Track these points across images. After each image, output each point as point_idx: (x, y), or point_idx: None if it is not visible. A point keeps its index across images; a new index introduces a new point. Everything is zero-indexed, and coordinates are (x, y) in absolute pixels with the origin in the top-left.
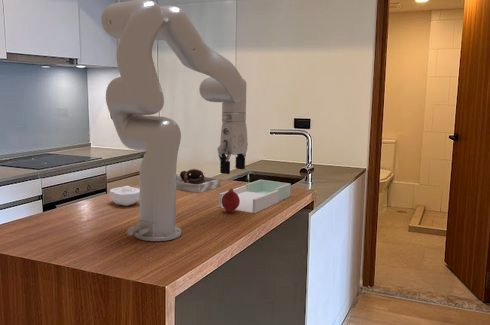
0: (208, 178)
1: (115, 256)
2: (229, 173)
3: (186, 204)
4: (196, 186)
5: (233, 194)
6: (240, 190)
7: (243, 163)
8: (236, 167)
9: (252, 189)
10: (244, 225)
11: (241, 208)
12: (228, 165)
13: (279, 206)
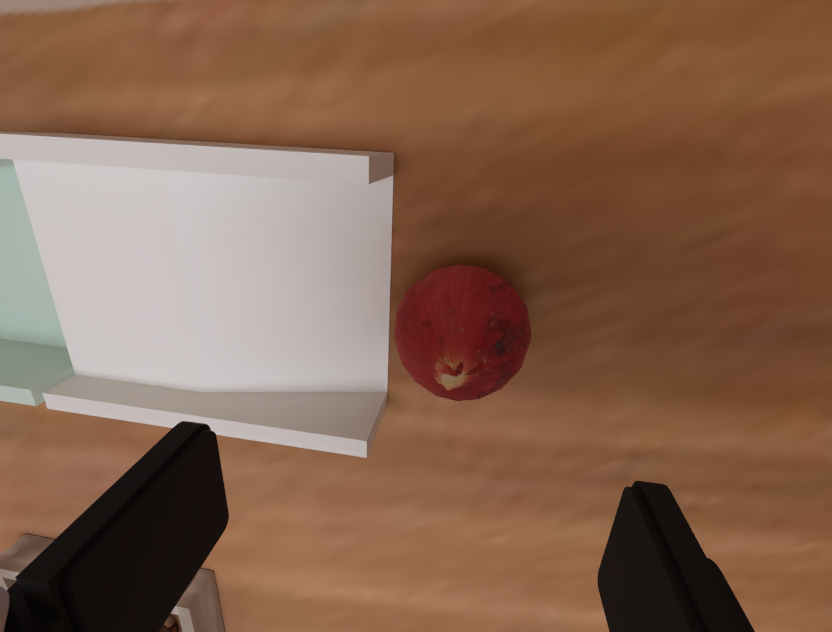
0: None
1: None
2: (642, 482)
3: (437, 545)
4: (194, 609)
5: (483, 327)
6: (132, 394)
7: (156, 491)
8: (221, 523)
9: (13, 359)
10: (759, 67)
11: (361, 273)
12: (729, 623)
13: (122, 77)
